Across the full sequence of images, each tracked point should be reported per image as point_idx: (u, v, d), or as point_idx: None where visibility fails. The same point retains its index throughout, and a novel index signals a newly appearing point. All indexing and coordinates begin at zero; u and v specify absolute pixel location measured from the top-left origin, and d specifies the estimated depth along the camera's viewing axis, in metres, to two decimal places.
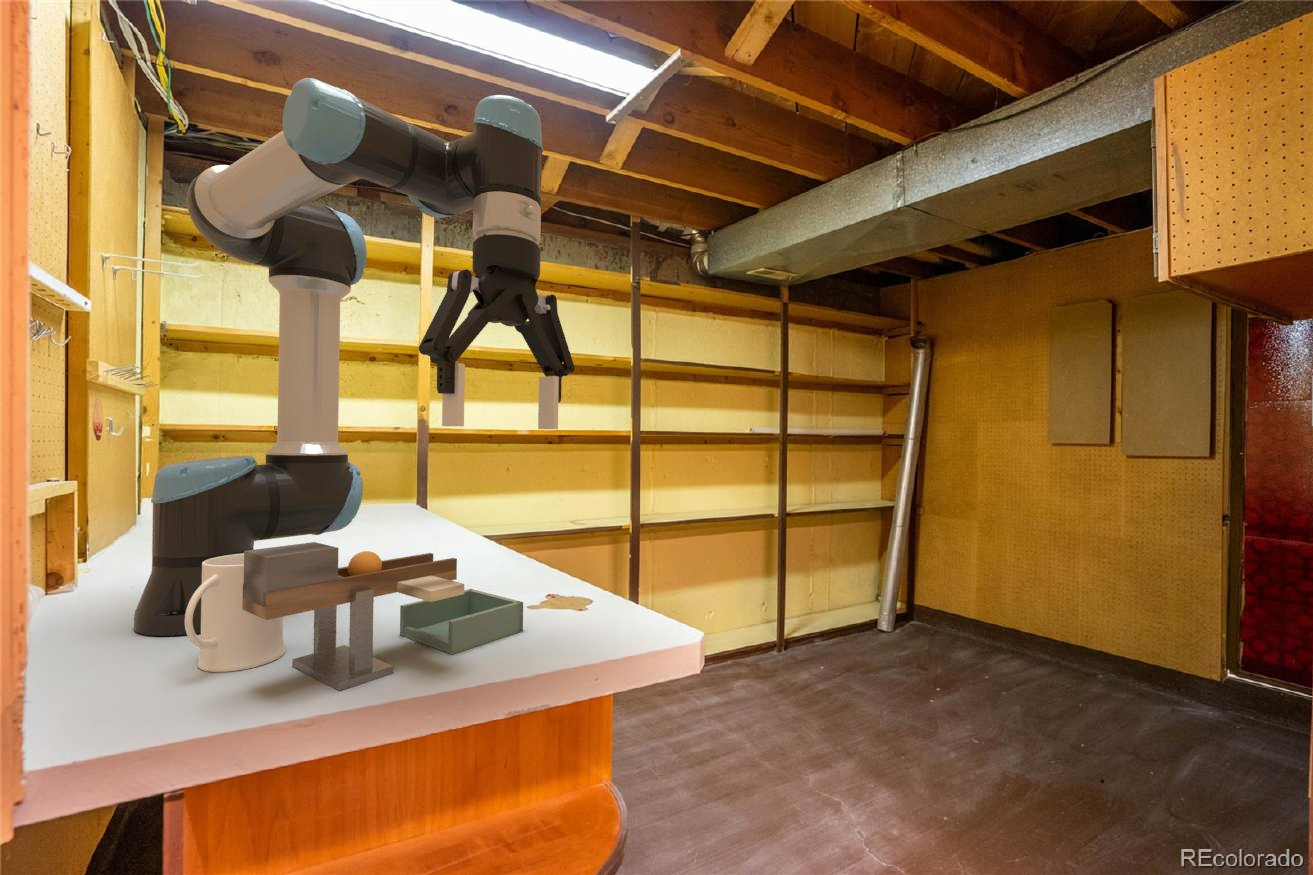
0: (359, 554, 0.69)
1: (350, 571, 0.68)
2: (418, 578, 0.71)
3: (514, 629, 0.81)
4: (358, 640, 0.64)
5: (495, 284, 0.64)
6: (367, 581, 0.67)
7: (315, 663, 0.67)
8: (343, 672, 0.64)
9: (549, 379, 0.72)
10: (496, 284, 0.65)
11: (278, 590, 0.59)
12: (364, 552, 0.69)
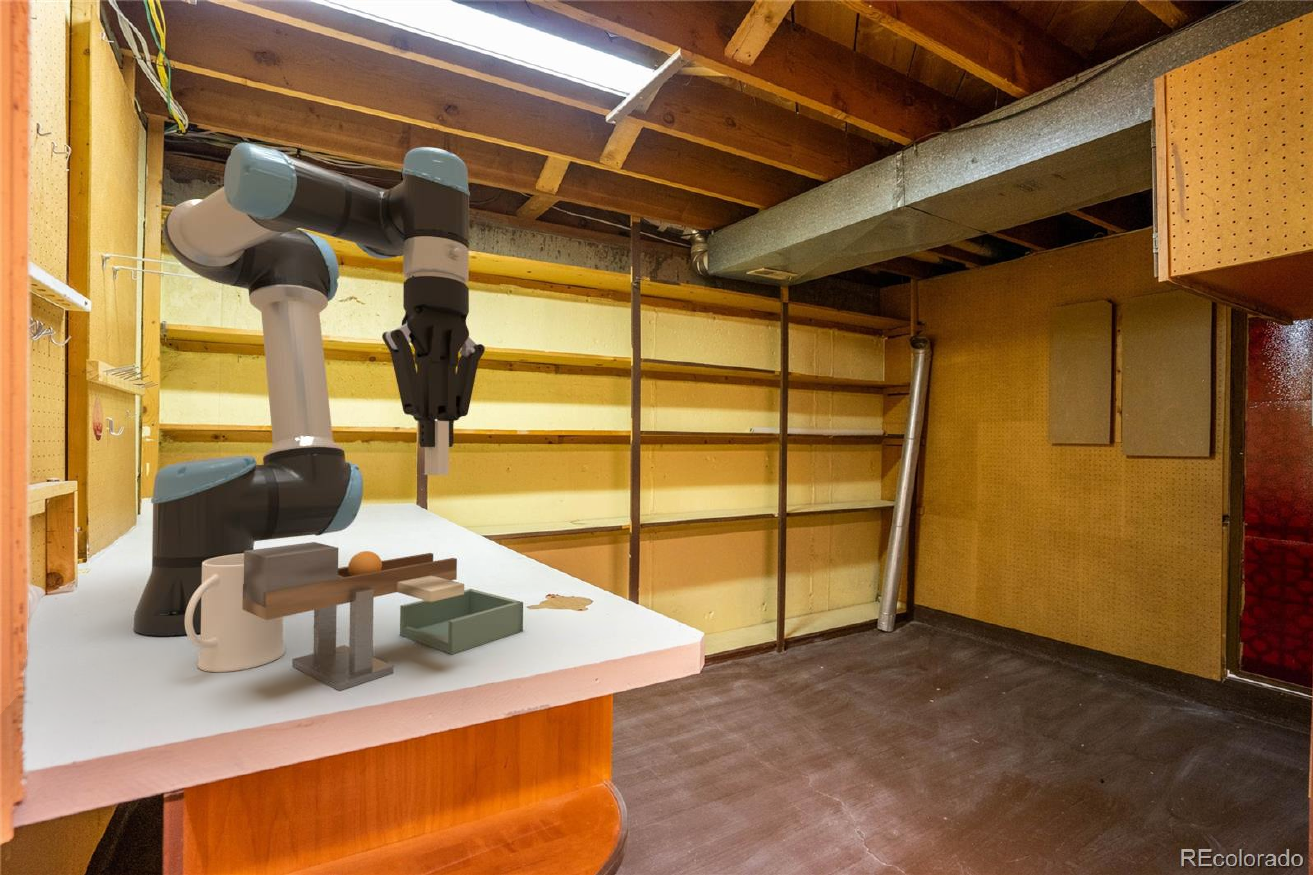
0: (359, 554, 0.69)
1: (350, 571, 0.68)
2: (418, 578, 0.71)
3: (514, 629, 0.81)
4: (358, 640, 0.64)
5: (421, 318, 0.69)
6: (367, 581, 0.67)
7: (315, 663, 0.67)
8: (343, 672, 0.64)
9: None
10: (422, 318, 0.69)
11: (278, 590, 0.59)
12: (364, 552, 0.69)
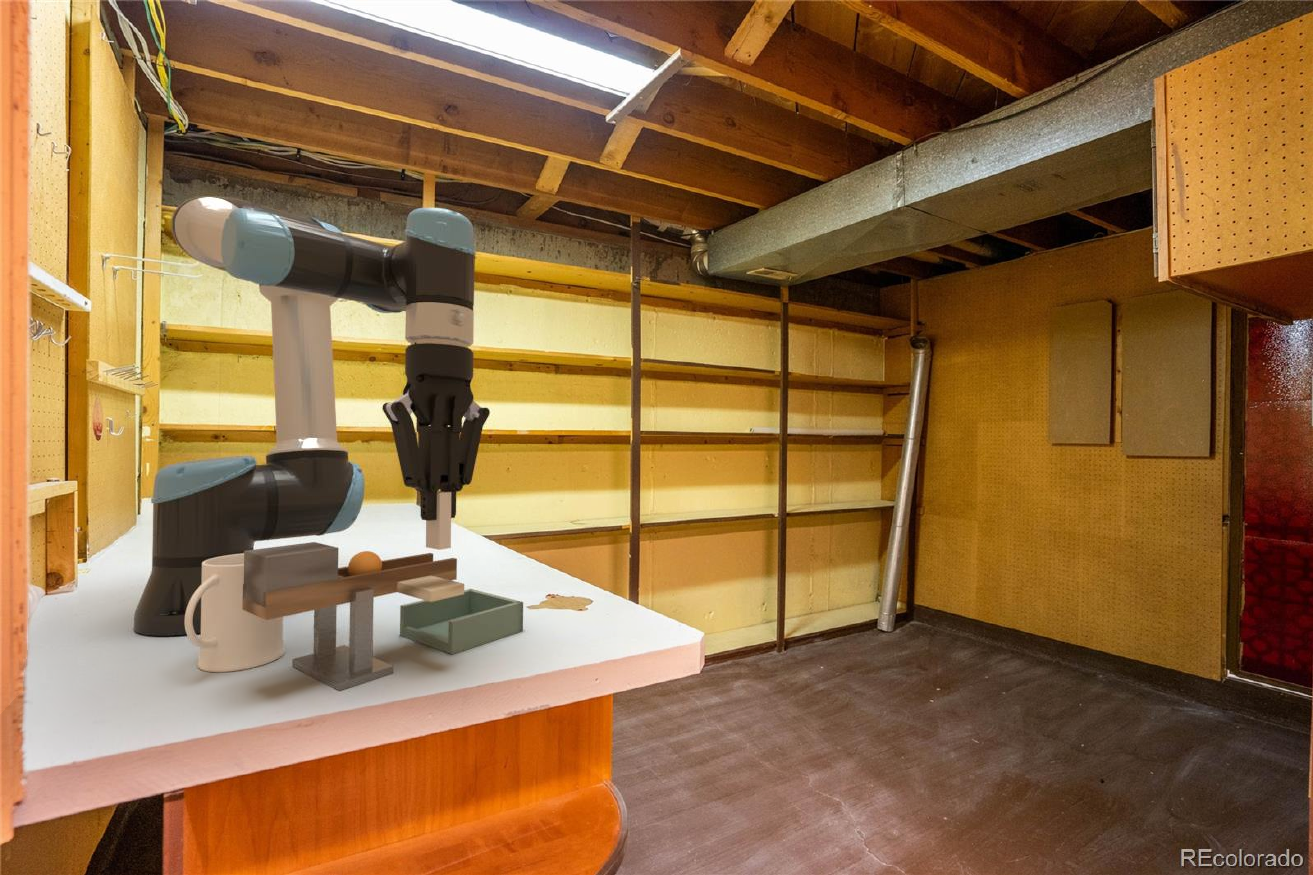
0: (359, 554, 0.69)
1: (350, 571, 0.68)
2: (418, 578, 0.71)
3: (514, 629, 0.81)
4: (358, 640, 0.64)
5: (423, 387, 0.66)
6: (367, 581, 0.67)
7: (315, 663, 0.67)
8: (343, 672, 0.64)
9: None
10: (424, 386, 0.66)
11: (278, 590, 0.59)
12: (364, 552, 0.69)
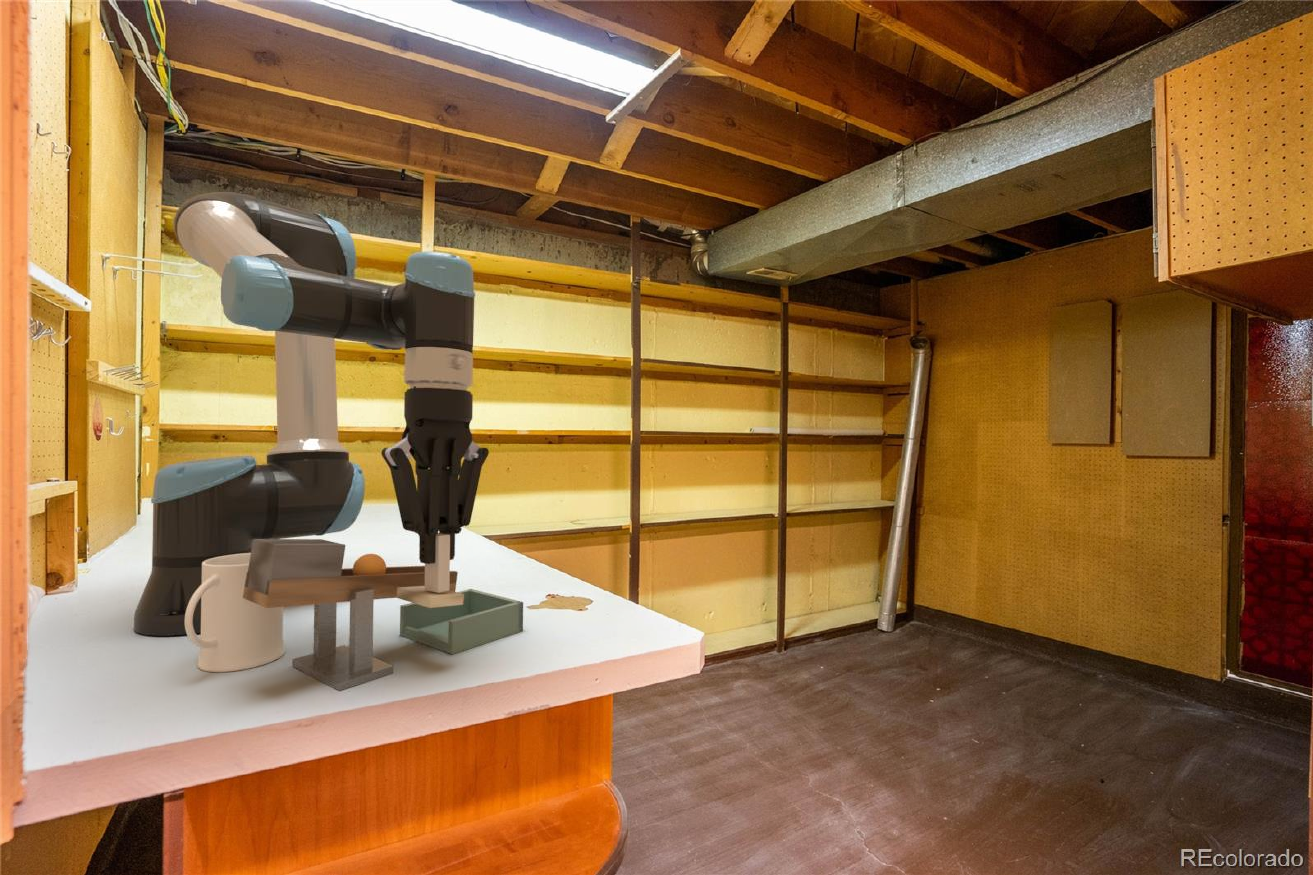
0: (367, 555, 0.69)
1: (354, 570, 0.68)
2: (418, 586, 0.71)
3: (514, 629, 0.81)
4: (358, 640, 0.64)
5: (422, 432, 0.66)
6: (369, 582, 0.67)
7: (315, 663, 0.67)
8: (343, 672, 0.64)
9: None
10: (423, 431, 0.66)
11: (282, 579, 0.60)
12: (372, 554, 0.70)
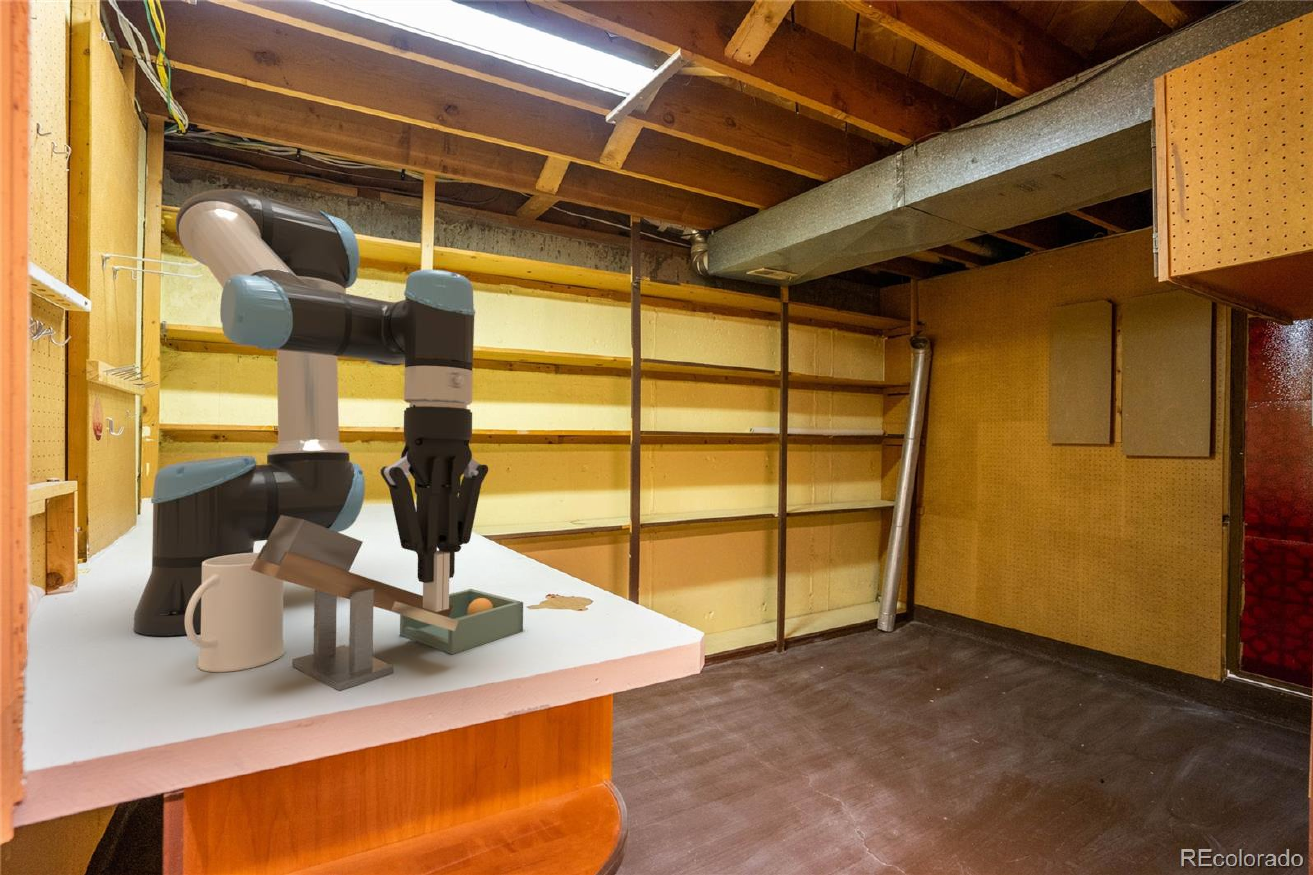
0: None
1: None
2: (414, 606, 0.71)
3: (514, 629, 0.81)
4: (358, 640, 0.64)
5: (422, 450, 0.66)
6: (371, 586, 0.67)
7: (315, 663, 0.67)
8: (343, 672, 0.64)
9: None
10: (423, 449, 0.66)
11: (298, 555, 0.61)
12: None
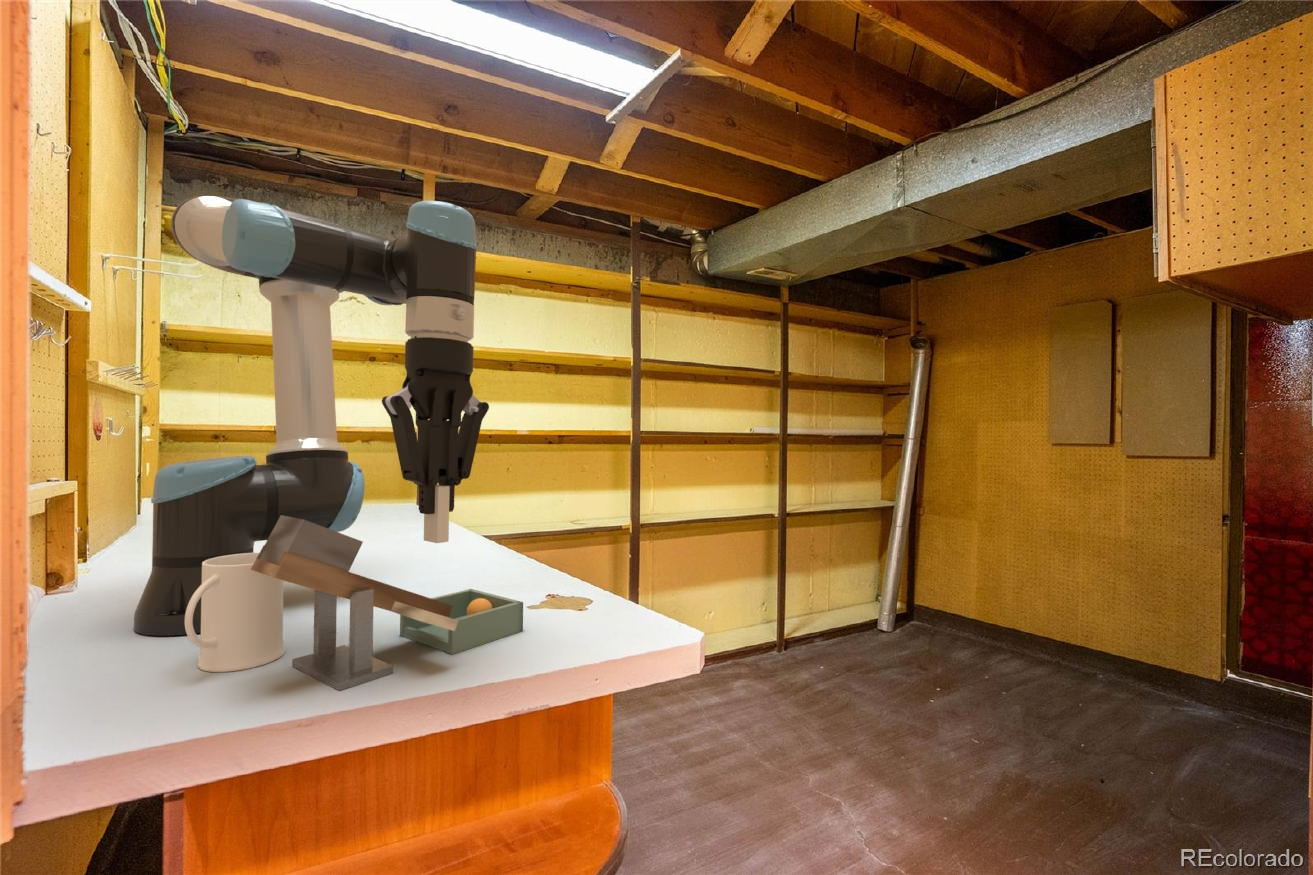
0: None
1: None
2: (414, 606, 0.71)
3: (514, 629, 0.81)
4: (358, 640, 0.64)
5: (423, 381, 0.66)
6: (371, 586, 0.67)
7: (315, 663, 0.67)
8: (343, 672, 0.64)
9: None
10: (424, 381, 0.66)
11: (298, 555, 0.61)
12: None
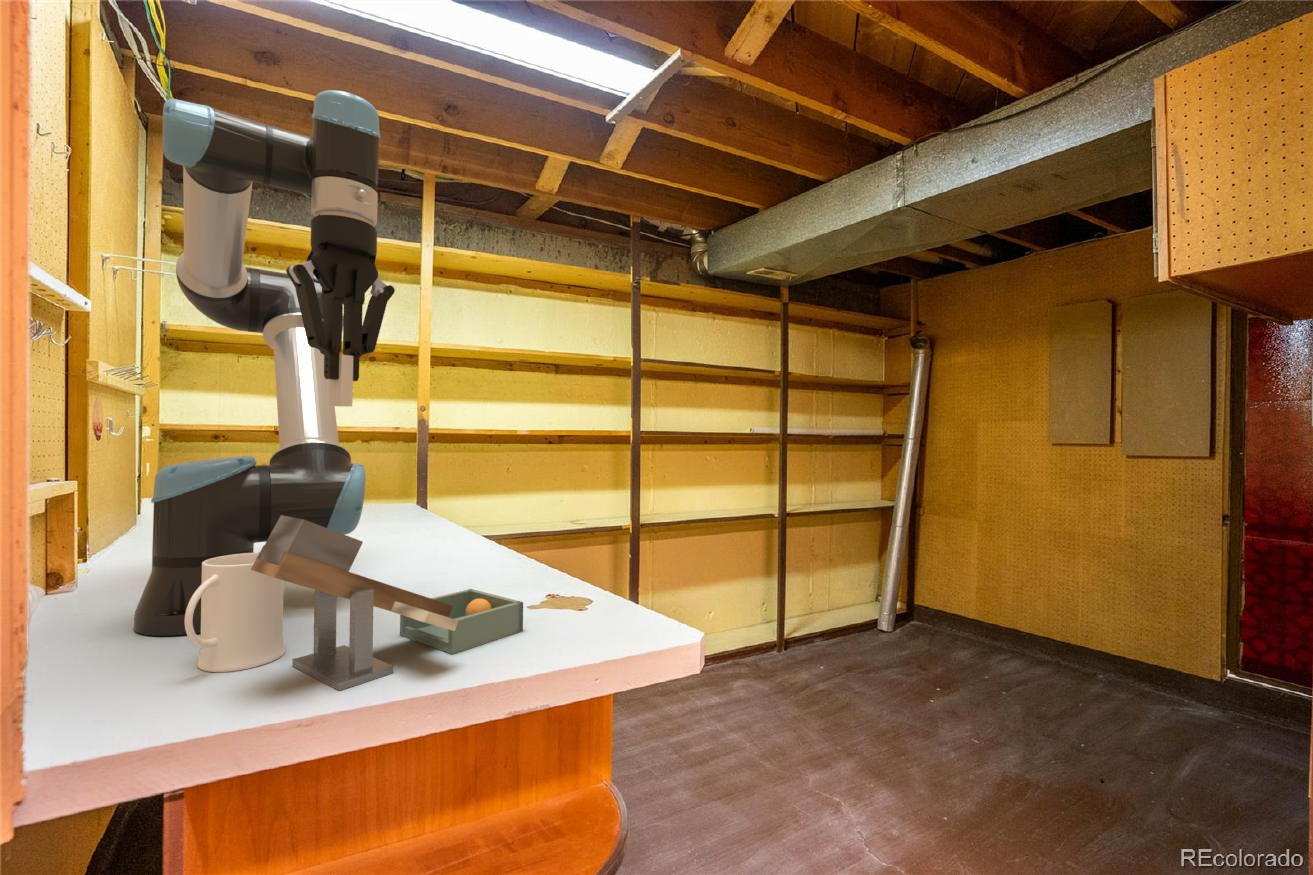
0: None
1: None
2: (414, 606, 0.71)
3: (514, 629, 0.81)
4: (358, 640, 0.64)
5: (326, 256, 0.72)
6: (371, 586, 0.67)
7: (315, 663, 0.67)
8: (343, 672, 0.64)
9: None
10: (327, 255, 0.72)
11: (298, 555, 0.61)
12: None
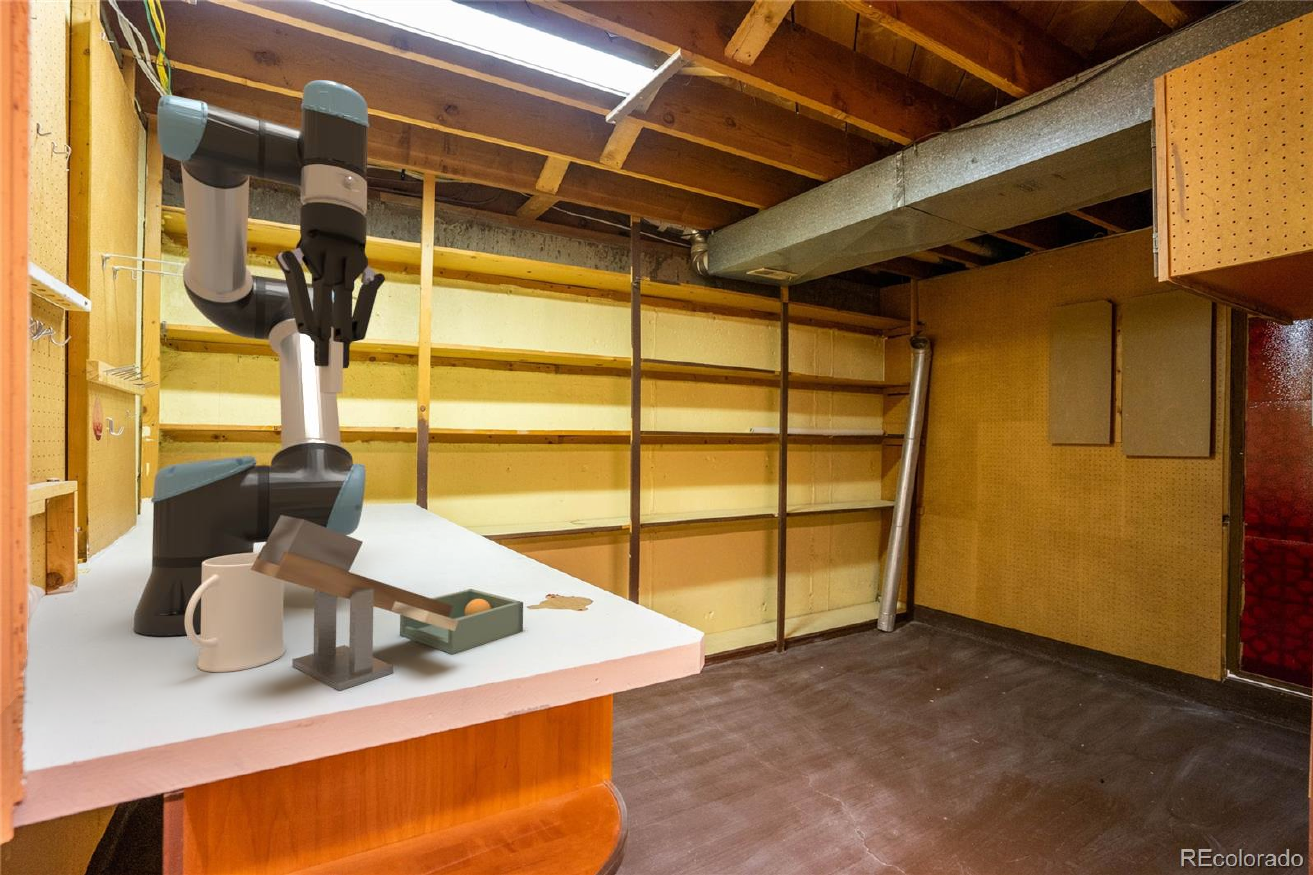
0: None
1: None
2: (414, 606, 0.71)
3: (514, 629, 0.81)
4: (358, 640, 0.64)
5: (315, 243, 0.73)
6: (371, 586, 0.67)
7: (315, 663, 0.67)
8: (343, 672, 0.64)
9: None
10: (316, 242, 0.73)
11: (298, 555, 0.61)
12: None
